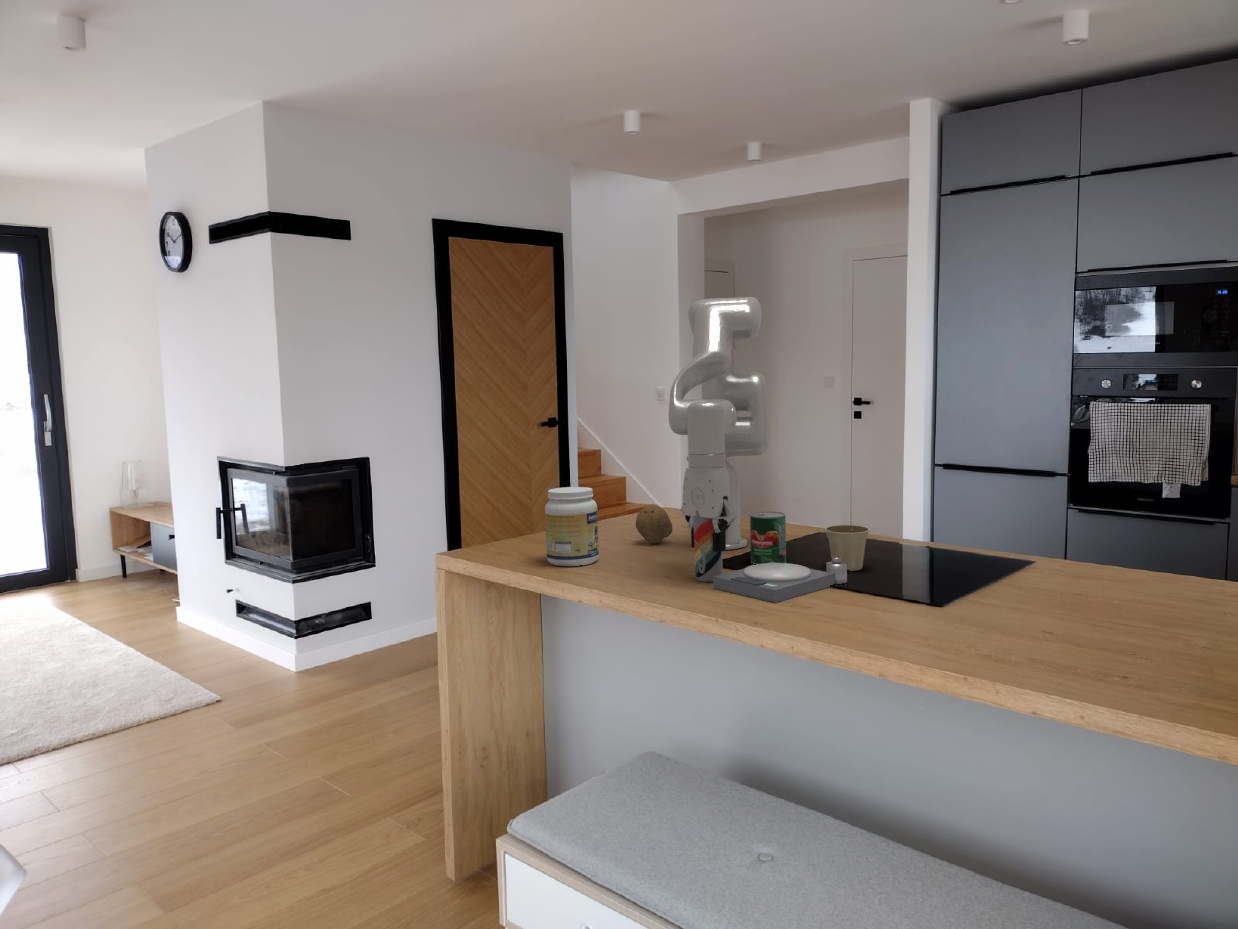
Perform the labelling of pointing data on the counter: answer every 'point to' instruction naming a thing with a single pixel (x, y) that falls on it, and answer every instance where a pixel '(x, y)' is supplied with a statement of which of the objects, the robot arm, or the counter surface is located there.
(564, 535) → the supplement tub
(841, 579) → the calibration weight
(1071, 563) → the counter surface
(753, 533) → the canned tomato
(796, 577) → the kitchen scale
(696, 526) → the lotion bottle
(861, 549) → the flower pot
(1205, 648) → the counter surface
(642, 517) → the brown rounded lump
